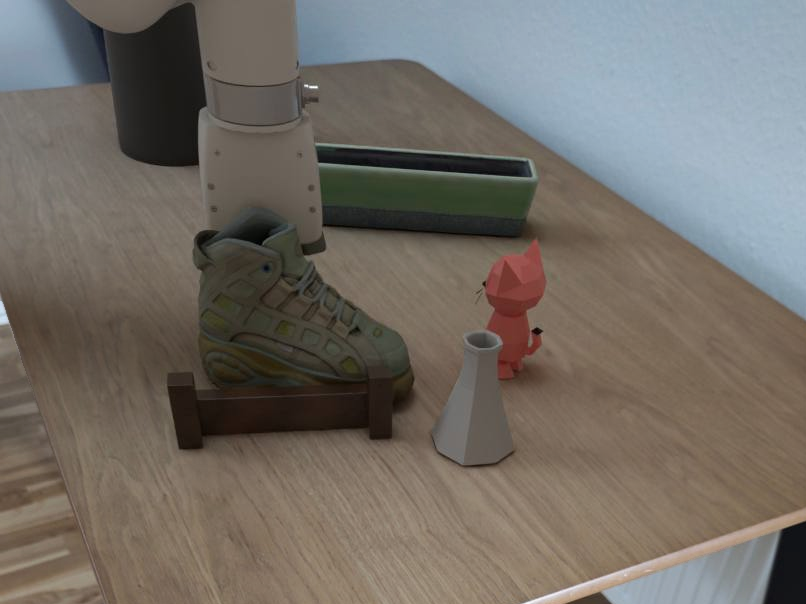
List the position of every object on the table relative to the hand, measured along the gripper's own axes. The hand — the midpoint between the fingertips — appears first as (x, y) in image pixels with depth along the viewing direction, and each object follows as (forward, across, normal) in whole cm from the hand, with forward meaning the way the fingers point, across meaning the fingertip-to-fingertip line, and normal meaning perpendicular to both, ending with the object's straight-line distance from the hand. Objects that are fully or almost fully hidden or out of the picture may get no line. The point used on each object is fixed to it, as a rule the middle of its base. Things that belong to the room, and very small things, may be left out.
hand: (272, 311), depth 85 cm
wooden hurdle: (+3, 0, +15) cm, 15 cm away
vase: (+3, +10, -51) cm, 52 cm away
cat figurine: (+3, -22, +6) cm, 23 cm away
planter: (+3, -19, -27) cm, 33 cm away
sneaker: (+3, -3, +8) cm, 9 cm away
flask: (+3, -16, +18) cm, 25 cm away
